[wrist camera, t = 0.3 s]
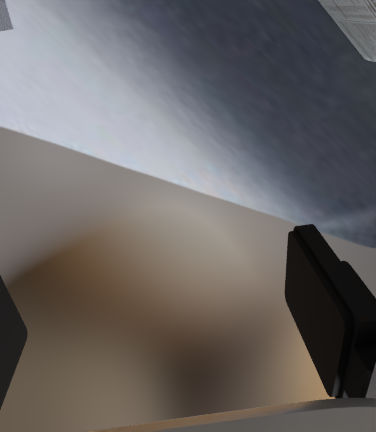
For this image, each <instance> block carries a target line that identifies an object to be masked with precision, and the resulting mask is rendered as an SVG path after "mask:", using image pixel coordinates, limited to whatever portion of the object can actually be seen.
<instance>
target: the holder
mask: <svg viewBox="0 0 376 432" xmlns="http://www.w3.org/2000/svg"><path fill="white" fill-rule="evenodd" d="M11 29H13V27H12V23H11V20H10V16H9V13H8V10H7V6H6V3H5V0H0V31H5V30H11Z"/></svg>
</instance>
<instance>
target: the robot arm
mask: <svg viewBox="0 0 376 432" xmlns="http://www.w3.org/2000/svg"><path fill="white" fill-rule="evenodd" d="M285 299H286V302H287V305H288V307H289V309H290V312H291V314H292V316H293V318H294V320H295V323H296V325H297V327H298V329H299V332H300V334H301V336H302V338H303V341H304V343H305V345H306V347H307V350H308V352H309V354H310V356H311V359H312V361H313V363H314V365H315V367H316V370H317V372H318V374H319V376H320V379H321V381H322V383H323V385H324V388H325V390H326V392H327V394H328V395H329V396H330V397H335V398H336V399H326V400H315V401H307V402H299V403H291V404H282V405H274V406H266V407H258V408H252V409H244V410H237V411H229V412H222V413H215V414H208V415H201V416H193V417H186V418H179V419H172V420H165V421H158V422H151V423H144V424H137V425H130V426H123V427H116V428H109V429H102V430H95V431H89V432H376V298H375V297H374V296H373V294H372V293H371V292H370V290H369V289H368V288H367V286H366V285H365V284H364V282H363V281H362V280H361V278H360V277H359V276H358V274H357V273H356V272H355V271H354V269H353V268H352V267H351V265H350V264H349V263H348V262H346V261H340V260H339V258H338V257H337V256H336V254H335V253H334V252H333V250H332V249H331V248H330V246H329V245H328V243H327V242H326V241H325V239H324V238H323V236H322V235H321V234H320V232H319V231H318V230H317V228H316V227H315V226H314V225H313V224H309V225H302V226H295V227H294V230H293V231H291V232H289V234H288V247H287V263H286V280H285ZM26 340H27V329H26V326H25V324H24V322H23V320H22V318H21V316H20V314H19V312H18V310H17V308H16V306H15V304H14V302H13V300H12V298H11V296H10V294H9V292H8V290H7V288H6V286H5V284H4V282H3V280H2V278H1V276H0V409H1V406H2V404H3V401H4V398H5V396H6V393H7V390H8V388H9V385H10V382H11V380H12V377H13V374H14V372H15V369H16V366H17V364H18V361H19V358H20V356H21V353H22V350H23V348H24V345H25V342H26Z"/></svg>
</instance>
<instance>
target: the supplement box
mask: <svg viewBox="0 0 376 432" xmlns="http://www.w3.org/2000/svg"><path fill="white" fill-rule="evenodd" d="M318 1H319V2H320V3H321V5H322V6H323V7H324V8H325V10H326V11H327V12H328V13H329V15H330V16H331V17H332V18H333V20H334V21H335V22H336V24H337V25H338V26H339V27H340V29H341V30H342V31H343V33H344V34H345V35H346V36H347V38H348V39H349V40H350V41H351V43H352V44H353V45H354V46H355V48H356V49H357V50H358V52H359V53H360V54H361V55H362V56H363V58H364V59H366V60H368V61H374V62H376V0H318Z"/></svg>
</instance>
